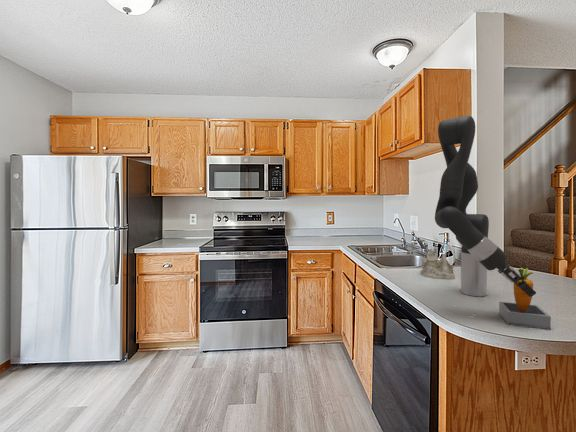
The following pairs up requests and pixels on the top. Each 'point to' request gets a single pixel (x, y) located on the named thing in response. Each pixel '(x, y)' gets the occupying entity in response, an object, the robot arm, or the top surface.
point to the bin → (524, 316)
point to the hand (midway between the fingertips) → (530, 292)
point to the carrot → (520, 295)
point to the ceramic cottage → (437, 267)
